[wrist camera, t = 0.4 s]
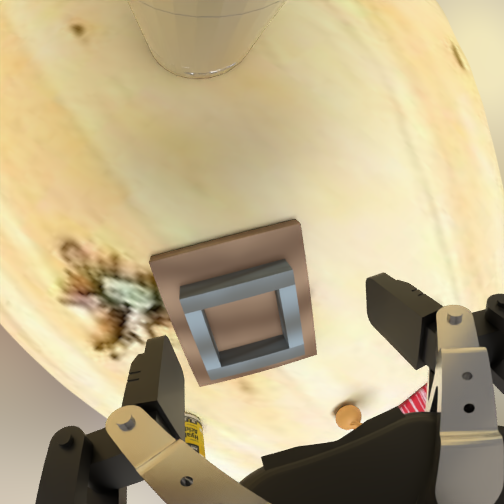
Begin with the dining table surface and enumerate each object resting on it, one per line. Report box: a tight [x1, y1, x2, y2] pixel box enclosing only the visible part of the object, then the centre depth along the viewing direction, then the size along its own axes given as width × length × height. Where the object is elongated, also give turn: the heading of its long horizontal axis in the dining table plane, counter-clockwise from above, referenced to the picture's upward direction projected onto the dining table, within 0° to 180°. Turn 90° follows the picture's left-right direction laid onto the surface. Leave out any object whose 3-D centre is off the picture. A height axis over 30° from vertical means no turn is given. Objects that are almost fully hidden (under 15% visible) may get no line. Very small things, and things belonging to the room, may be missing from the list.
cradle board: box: [149, 219, 317, 387], centre depth 30 cm, size 16×14×4 cm
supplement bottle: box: [185, 413, 205, 458], centre depth 32 cm, size 5×5×10 cm
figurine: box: [336, 405, 362, 430], centre depth 36 cm, size 8×6×12 cm
